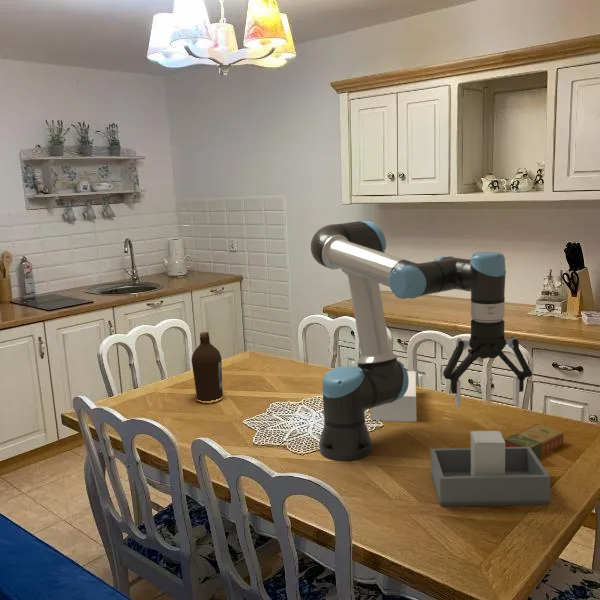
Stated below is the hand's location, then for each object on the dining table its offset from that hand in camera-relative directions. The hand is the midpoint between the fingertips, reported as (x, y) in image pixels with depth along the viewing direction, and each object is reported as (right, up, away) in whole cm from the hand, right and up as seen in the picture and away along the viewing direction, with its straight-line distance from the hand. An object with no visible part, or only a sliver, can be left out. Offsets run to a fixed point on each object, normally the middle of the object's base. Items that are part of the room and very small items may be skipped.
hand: (486, 405), depth 148 cm
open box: (+1, -21, +4) cm, 22 cm away
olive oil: (-77, -11, +77) cm, 110 cm away
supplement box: (+1, -20, +4) cm, 21 cm away
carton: (+20, -17, +24) cm, 36 cm away
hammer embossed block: (-13, -11, +60) cm, 63 cm away
